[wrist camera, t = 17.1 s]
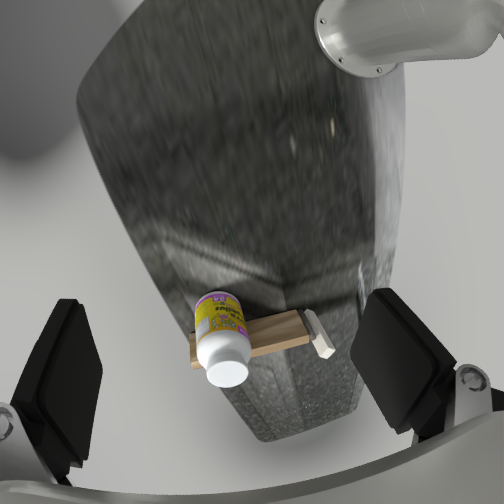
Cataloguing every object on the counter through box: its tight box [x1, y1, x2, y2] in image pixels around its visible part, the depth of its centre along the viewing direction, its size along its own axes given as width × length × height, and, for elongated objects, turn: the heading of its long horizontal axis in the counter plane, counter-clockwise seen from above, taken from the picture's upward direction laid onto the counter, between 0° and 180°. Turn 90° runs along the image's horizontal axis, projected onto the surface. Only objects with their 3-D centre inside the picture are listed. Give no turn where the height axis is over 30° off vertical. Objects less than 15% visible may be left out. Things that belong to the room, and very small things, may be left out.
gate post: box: [304, 309, 335, 359], centre depth 43 cm, size 2×2×9 cm
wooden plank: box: [189, 309, 317, 369], centre depth 43 cm, size 2×18×6 cm, turn 99°
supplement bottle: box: [195, 291, 251, 387], centre depth 38 cm, size 7×7×13 cm
